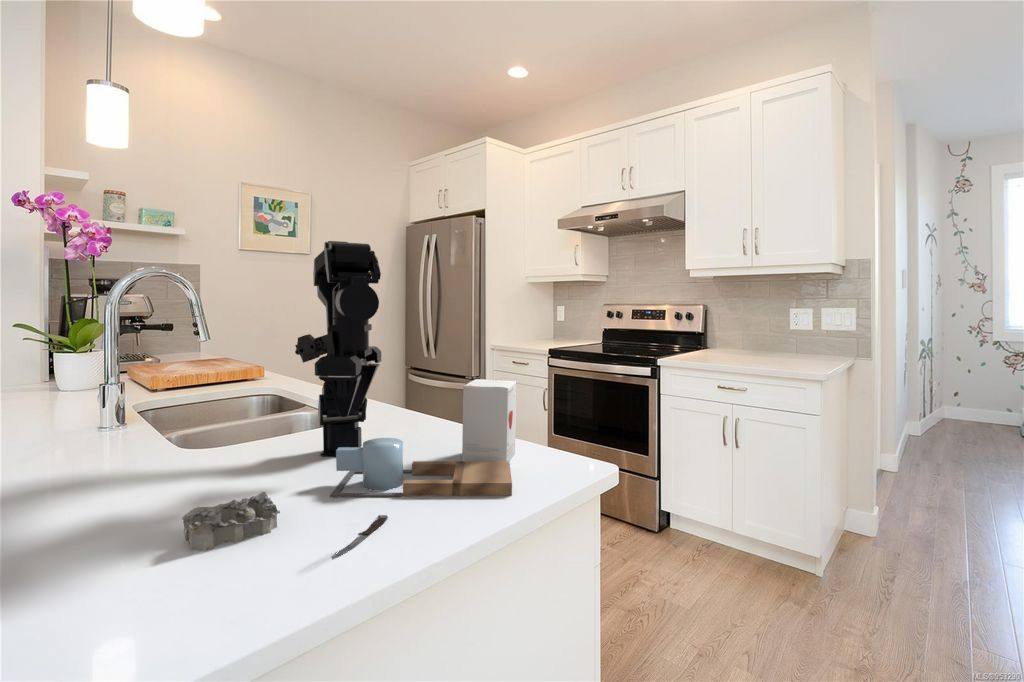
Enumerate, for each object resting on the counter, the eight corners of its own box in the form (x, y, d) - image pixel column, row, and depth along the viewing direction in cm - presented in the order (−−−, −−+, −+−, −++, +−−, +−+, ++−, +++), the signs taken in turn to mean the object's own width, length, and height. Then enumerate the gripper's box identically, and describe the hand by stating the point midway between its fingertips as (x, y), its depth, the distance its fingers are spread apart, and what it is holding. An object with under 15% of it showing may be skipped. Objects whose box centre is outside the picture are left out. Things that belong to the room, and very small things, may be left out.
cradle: (402, 495, 82) (402, 483, 81) (413, 472, 92) (413, 461, 92) (511, 495, 82) (512, 482, 82) (509, 472, 93) (509, 461, 93)
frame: (329, 497, 81) (329, 495, 80) (350, 471, 92) (350, 469, 92) (400, 496, 81) (400, 494, 81) (412, 471, 93) (412, 469, 93)
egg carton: (189, 558, 62) (187, 525, 62) (181, 535, 68) (179, 505, 68) (282, 533, 69) (281, 503, 68) (268, 514, 75) (267, 486, 74)
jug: (405, 476, 90) (405, 437, 90) (399, 490, 84) (399, 448, 83) (343, 477, 90) (342, 437, 89) (332, 490, 83) (331, 448, 83)
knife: (371, 512, 74) (390, 514, 73) (372, 517, 74) (390, 519, 73) (292, 574, 58) (315, 577, 57) (293, 580, 58) (316, 584, 57)
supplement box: (507, 466, 96) (508, 387, 95) (461, 463, 98) (461, 385, 97) (516, 452, 105) (517, 380, 104) (474, 449, 107) (474, 378, 106)
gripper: (321, 315, 95) (322, 398, 97) (278, 320, 77) (281, 423, 78) (381, 316, 96) (382, 399, 97) (354, 321, 77) (355, 424, 78)
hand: (352, 410), depth 88 cm, fingers open, 9 cm apart
